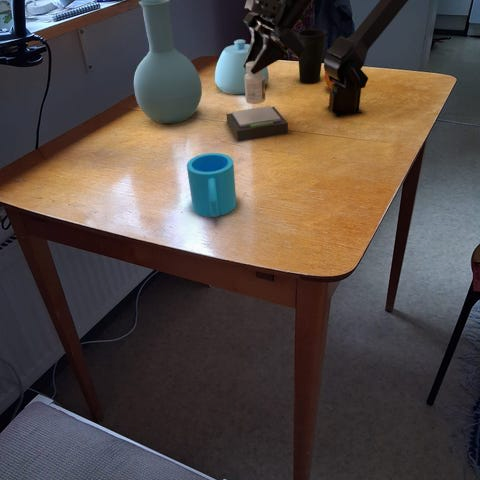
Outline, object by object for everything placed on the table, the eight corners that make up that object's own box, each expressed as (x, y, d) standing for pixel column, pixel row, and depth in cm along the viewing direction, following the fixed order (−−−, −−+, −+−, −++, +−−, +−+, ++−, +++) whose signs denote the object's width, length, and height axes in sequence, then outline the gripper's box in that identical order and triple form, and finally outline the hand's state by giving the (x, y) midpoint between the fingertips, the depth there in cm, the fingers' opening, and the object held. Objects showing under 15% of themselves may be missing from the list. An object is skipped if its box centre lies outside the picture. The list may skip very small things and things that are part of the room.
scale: (274, 116, 118) (274, 103, 116) (288, 133, 111) (288, 120, 109) (226, 123, 117) (225, 111, 115) (237, 141, 109) (236, 128, 107)
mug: (192, 195, 92) (186, 155, 87) (234, 192, 92) (231, 151, 87) (192, 230, 83) (186, 187, 78) (239, 225, 84) (236, 182, 78)
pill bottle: (268, 102, 107) (267, 64, 101) (249, 105, 106) (247, 68, 100) (261, 96, 110) (259, 58, 104) (243, 99, 109) (240, 62, 103)
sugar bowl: (236, 75, 143) (233, 31, 135) (278, 82, 136) (278, 36, 128) (205, 91, 135) (200, 44, 127) (248, 99, 128) (246, 51, 120)
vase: (148, 134, 115) (125, 12, 98) (133, 111, 126) (110, -1, 109) (213, 120, 119) (201, 1, 102) (193, 99, 130) (179, -11, 113)
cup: (322, 85, 133) (324, 36, 124) (294, 84, 134) (295, 36, 126) (324, 75, 138) (326, 28, 130) (297, 75, 139) (298, 28, 131)
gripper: (249, -34, 99) (205, 36, 104) (290, -23, 86) (238, 57, 91) (283, 4, 106) (241, 68, 111) (326, 20, 93) (276, 91, 99)
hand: (248, 70), depth 103 cm, fingers closed on pill bottle, 3 cm apart
